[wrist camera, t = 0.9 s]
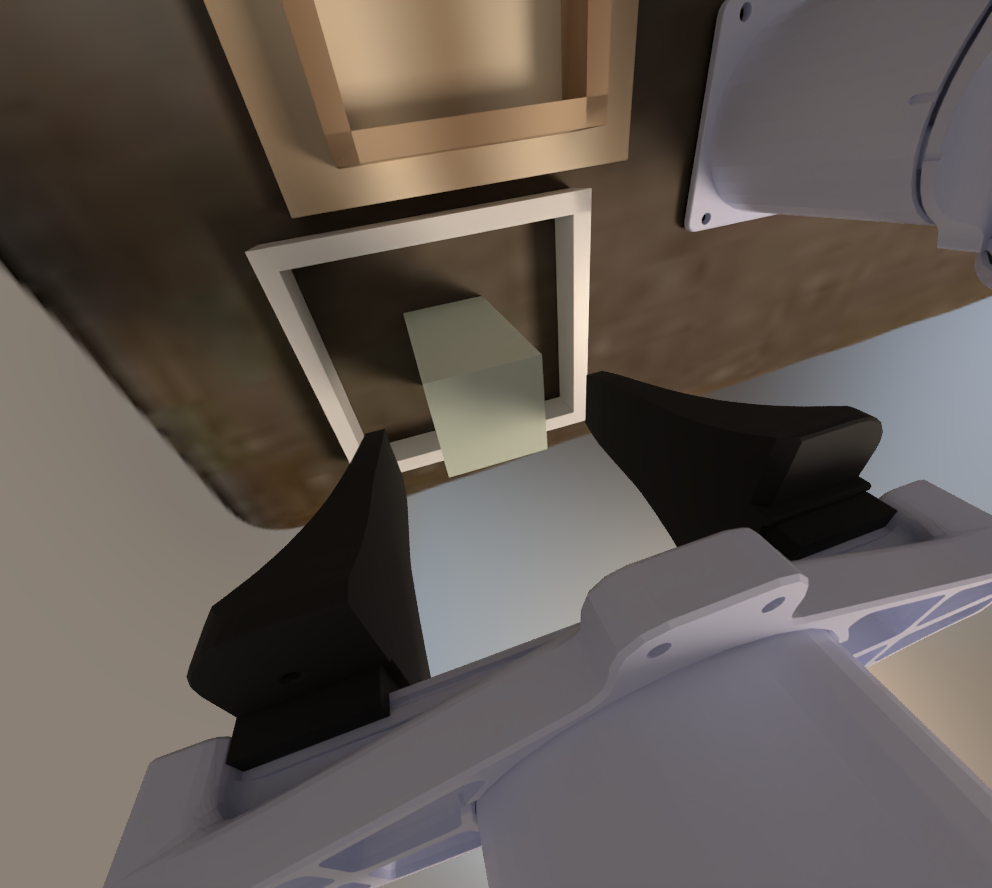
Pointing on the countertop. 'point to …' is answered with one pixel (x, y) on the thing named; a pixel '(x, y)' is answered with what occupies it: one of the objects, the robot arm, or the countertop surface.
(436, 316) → the block
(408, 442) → the rectangular frame
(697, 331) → the countertop surface
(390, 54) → the wooden divided tray
